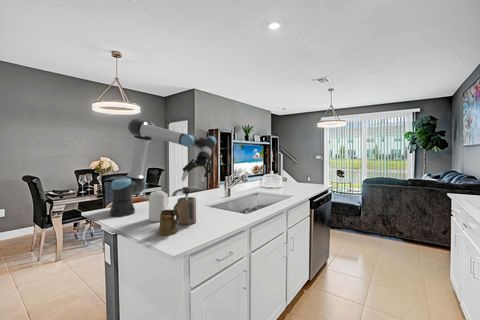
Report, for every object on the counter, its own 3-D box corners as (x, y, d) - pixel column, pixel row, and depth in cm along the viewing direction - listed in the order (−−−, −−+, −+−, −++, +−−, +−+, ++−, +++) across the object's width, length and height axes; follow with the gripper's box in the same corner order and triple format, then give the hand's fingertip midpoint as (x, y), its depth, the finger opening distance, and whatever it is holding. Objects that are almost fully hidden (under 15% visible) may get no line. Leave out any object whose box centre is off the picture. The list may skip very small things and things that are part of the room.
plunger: (180, 218, 135) (179, 187, 135) (189, 216, 139) (188, 186, 138) (184, 221, 131) (184, 188, 130) (194, 219, 134) (193, 187, 134)
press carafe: (175, 222, 136) (174, 198, 135) (191, 219, 142) (190, 196, 141) (184, 227, 126) (184, 201, 126) (201, 223, 133) (200, 199, 132)
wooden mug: (178, 237, 112) (177, 200, 111) (154, 235, 116) (153, 199, 115) (187, 231, 120) (187, 196, 119) (165, 229, 124) (164, 195, 123)
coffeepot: (136, 225, 130) (135, 192, 129) (160, 213, 155) (159, 185, 154) (154, 227, 128) (153, 193, 127) (175, 214, 152) (175, 186, 152)
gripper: (186, 151, 155) (172, 175, 142) (219, 150, 146) (208, 177, 133) (190, 158, 161) (177, 183, 147) (223, 159, 151) (212, 185, 138)
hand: (192, 180), depth 140 cm, fingers open, 13 cm apart
